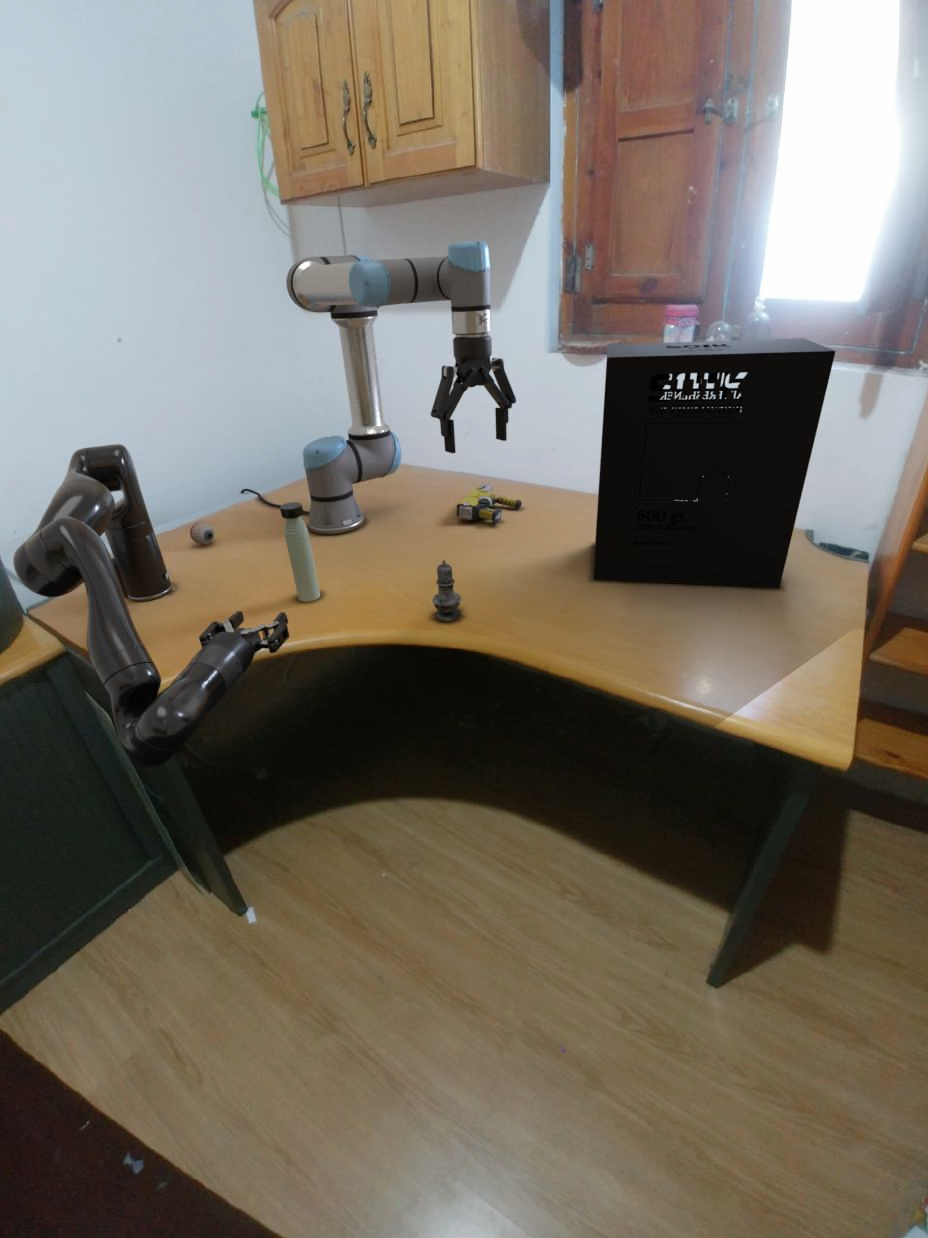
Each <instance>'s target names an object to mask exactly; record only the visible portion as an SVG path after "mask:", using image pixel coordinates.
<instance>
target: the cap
mask: <svg viewBox="0 0 928 1238" xmlns="http://www.w3.org/2000/svg"><path fill="white" fill-rule="evenodd" d="M280 505H281V506H280V509H279V511H280V514H281V517H282V518H283V519H285V520H286V519H293V518H298V517H300V516H301V517H302V516H303V515H304V513H303V511H304V508H303V504H302V503H301V502H298V501H290V502H285V503H283V504H280Z"/></svg>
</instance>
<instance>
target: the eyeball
mask: <svg viewBox="0 0 928 1238" xmlns="http://www.w3.org/2000/svg"><path fill="white" fill-rule="evenodd" d="M189 535H190V538H191V540H192V541H193V542H194V543H195V544H197V545H200V546H205V545H208V544H210V543H212V541H213V540H214V539H215V530H214V528H213V526H212V525H211V524H210V523H208V522H204V521H199V522H195V523H194V524H193V525H192V526H191V527H190V530H189Z"/></svg>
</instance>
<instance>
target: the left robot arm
mask: <svg viewBox="0 0 928 1238" xmlns="http://www.w3.org/2000/svg"><path fill="white" fill-rule="evenodd" d="M141 489H142V488H141V486H140V482H139V479H138V475H137V472H136V467H135V463H134V461H133V458H132V455H131V453H130V451H129V449H128V448H127V447H126V446H125V445H123V444H121V443H115V444H114V443H113V444H105V445H98V446H97V445H95V446H89V447H83V448H79V449H77V450H75V451H74V452H73V454H72V455H71V457H70V460H69V464H68V468H67V471H66V474H65V476H64V479H63V481H62V483H61V484H60V486H59V487H58V488H57V489H56V491H55V493H54V494H53V497H52V498H51V500H50V502H49V504H48V506H47V508H46V509H45V511H44V514H43V515H42V517H41V519H40V521H39V524H38V525H37V527H36V529H35V530H34V531H33V532H32V533H31V535H30V536H29V537H28V538H27V539H26V540H25V541H24V542H23V543H22V544H20V546H18V547H17V548H16V549H15V551H14V554H13V558H12V559H13V561H12V562H13V563H12V565H13V568H14V571H15V574H16V576H17V578H18V580H19V582H20V583H22V585H23V586H24V587H26V588H27V589H28V590H29V591H31V592H32V593H34V594H36V595H39V596H43V597H46V598H58V597H62V596H65V595H68V594H70V593H72V592H73V591H75V590H76V589H78V588H80V586H82V585H83V584H84V587H85V590H86V599H87V627H86V648H87V653H88V657H89V661H90V663H91V666H92V667H93V670H94V672H95V674H96V676H97V677H98V680H99V681H100V683H101V686H102V687H103V689H104V690H105V692H106V694H107V696H108V698H109V702H110V707H111V713H112V718H113V721H114V726H115V729H116V733H117V736H118V740H119V742H120V745H121V746H122V749H123V750H124V752H125V753H126V755H127V756H129V758H130V759H132V761H134V762H136V763H137V764H139V765H141V766H145V767H148V768H149V767H159V766H161V765H164V764H165V763H167V762H168V761H169V760H171V759H172V757H174V755H175V754H176V753H177V752H178V751H179V750H180V749H181V748H182V747H183V745H184V744H186V743H187V741H188V740H190V738H191V737H192V736H193V734H194V733H195V732H196V731H197V729H198V728H199V726H201V724H202V722H203V721H204V719H205V717H206V716H207V714H208V713H210V711H211V710H213V708H214V707H215V706H216V705H217V704H218V703H219V701H220V700H221V699H222V697H223V696H224V695H225V694H226V693H227V692H228V691H230V690H231V688H232V687H233V686H234V685H235V684H236V683H237V681H238V680H239V679H240V678H241V677H242V676H243V674H244V673H245V672H246V670H248V668H249V667H250V665H251V664H252V663H253V660H254V658H255V655H256V653H257V652H259V651H261V650H262V649H264V650H265V649H267V650H268V651H269V653H270V654H275V653H277V652H278V651H279V649H280V648H282V646H283V645H284V644H285V643H286V642H287V641H288V639H289V638H290V632H289V627H288V624H289V619H288V615H287V613H286V612H284V611H280V612H279V614H278V615H276V617H275V618H274V620H273V621H272V622H270V623H267V624H264V623H261V624H259V625H256V626H254V627H248V628H244V627H240V626H241V625H242V624H243V623H244V621H245V617H244V614H243V611H242V610H237V611H236V612H235V613H232V615H230V616H229V618H228V619H224V620H223V621H221V622H219V621H218V620H216V621H212V622H211V623H210V624H209V625H208V626H207V628H206V629H204V631H203V632H202V633H201V634H200V635H199V637H198V640H199V644H200V646H201V649H199V650H198V652H196V653H195V655H193V657H192V658H191V660H190V661H189V662H188V664H187V666H185V668H183V670H182V671H180V673H179V674H178V675H177V676H176V677H175V678H174V679H173V680H172V682H171V683H169V685H168V686H167V687H165V688H164V689H163V690H162V691H161V692H160V688H161V685H162V676H161V674H160V671H159V669H158V667H157V665H156V664H155V662H154V660H153V658H152V657H151V655H150V653H149V651H148V650H147V648H146V646H145V644H144V642H143V641H142V638H141V637H140V635H139V632H138V631H137V627H136V626H135V623H134V621H133V618H132V616H131V613H130V610H129V606H128V603H127V600H126V599H129V600H130V601H133V602H148V601H153V600H156V599H159V598H162V597H164V596H166V595H168V594H169V593H170V592H172V590H173V587H174V586H173V583H172V582H171V579H170V574H171V572H170V569H169V568H168V569H167V567H166V563H165V560H164V558H163V554H162V550H161V549H160V545H159V543H158V540H157V537H156V533H155V530H154V527H153V524H152V521H151V518H150V515H149V512H148V509H147V506H146V502H145V499H144V496H143V492H142V491H141ZM113 492H122V497H121V498H120V499H119V500H117V501H115V499H114V495H113V494H112V493H113ZM103 534H104V535H105V537H106V540H107V542H108V546H109V548H110V551H111V553H112V556H113V557H112V556H111V554H110V552H109V550H108V548H107V546H106V544H105V542H104V541H103V539H102V538H101V537H102V535H103ZM270 630H273V632H271V633H270ZM260 632H261V634H262V638H261V636H260ZM159 692H160V693H159Z"/></svg>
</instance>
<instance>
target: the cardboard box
mask: <svg viewBox="0 0 928 1238" xmlns="http://www.w3.org/2000/svg"><path fill="white" fill-rule="evenodd" d="M835 356H836V350H834V349H831V348H829V347H827V346H824V345H821V344H819V343H816V342H814V341H812V340H810V339H806V338H804V337H799V338H798V337H797V338H796V337H795V338H794V337H793V338H767V339H766V338H765V339H737V340H736V339H735V340H732V339H731V340H707V341H705V340H703V341H675V342H672V341H671V342H670V341H669V342H648V343H647V342H646V343H645V342H644V343H643V342H642V343H639V342H638V343H613V344H612V343H611V344H609V343H607V349H606V363H605V364H606V365H605V367H606V368H605V381H604V396H603V411H602V412H603V413H602V429H601V444H600V445H601V446H600V461H599V477H598V479H599V480H598V494H597V507H596V508H597V509H596V511H597V512H596V523H595V524H596V525H595V538H594V539H595V540H594V559H593V561H594V562H593V579H592V580H595V581H612V582H613V581H616V582H617V581H618V582H636V583H638V582H639V583H660V584H661V583H662V584H680V585H681V584H682V585H683V584H684V585H706V586H726V587H727V586H729V587H748V588H749V587H750V588H751V587H752V588H770V589H771V588H772V589H780V588H781V583H782V579H783V575H784V571H785V567H786V562H787V558H788V554H789V550H790V545H791V542H792V539H793V538H792V537H793V533H794V529H795V524H796V521H797V516H798V512H799V507H800V505H801V504H800V503H801V499H802V495H803V491H804V488H805V487H804V486H805V483H806V478H807V475H808V474H807V473H808V469H809V465H810V461H811V457H812V452H813V450H814V449H813V448H814V444H815V441H816V437H817V431H818V428H819V423H820V420H821V415H822V410H823V407H824V402H825V398H826V393H827V389H828V385H829V381H830V377H831V372H832V368H833V365H834V360H835ZM741 373H746V374H745V375H744V377H741V378H738V376H739V374H741ZM682 374H684V378H683V381H682V385H681V386H682V388H678V385H679V384H678V383H679V379H678V377H679V376H680V375H682ZM692 374H696V378H695V379H694V378H691V376H692ZM706 374H707V378H705V375H706ZM723 375H724V376H723ZM727 377H729V378H728V381H727V382H728V385H729V384H731V385H732V384H738V385H737V387H727V385H726V379H727ZM722 379H723V380H722ZM694 384H696V385H697V384H698V387H695V388H694ZM708 384H713V388H712V387H711V388H710V387H709V388H708ZM666 386H668V387H669V388H665V387H666Z"/></svg>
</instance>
